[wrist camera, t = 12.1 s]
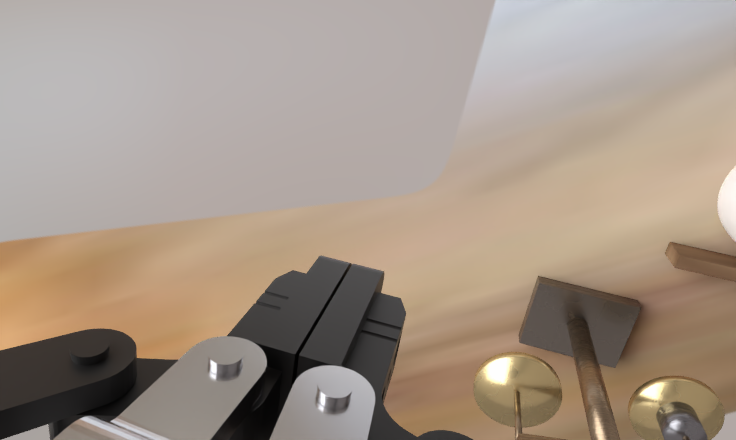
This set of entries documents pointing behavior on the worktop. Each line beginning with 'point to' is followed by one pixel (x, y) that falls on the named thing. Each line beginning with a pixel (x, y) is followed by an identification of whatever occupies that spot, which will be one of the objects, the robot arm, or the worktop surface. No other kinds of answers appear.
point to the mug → (728, 204)
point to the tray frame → (702, 261)
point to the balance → (588, 371)
